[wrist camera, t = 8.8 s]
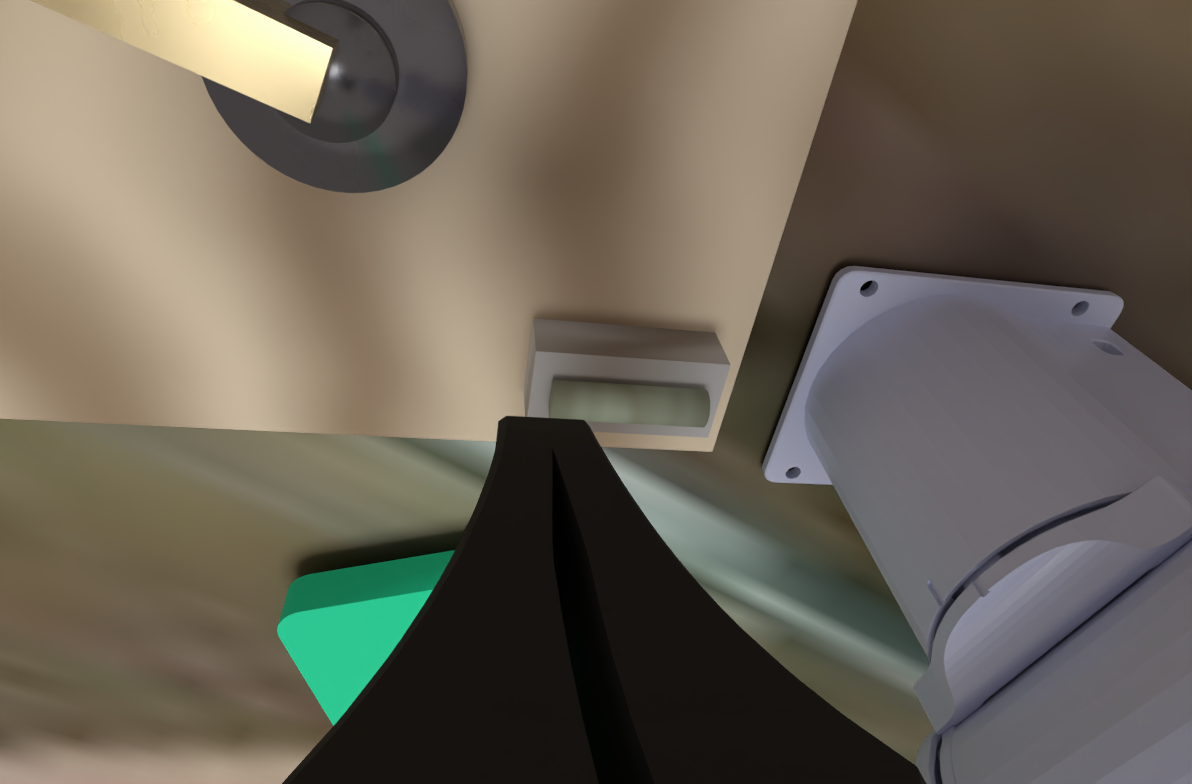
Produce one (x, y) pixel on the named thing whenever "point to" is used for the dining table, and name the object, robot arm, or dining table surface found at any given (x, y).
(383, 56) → the bar with round base
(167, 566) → the dining table surface
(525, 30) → the base plate
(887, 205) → the dining table surface
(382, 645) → the camera mount
